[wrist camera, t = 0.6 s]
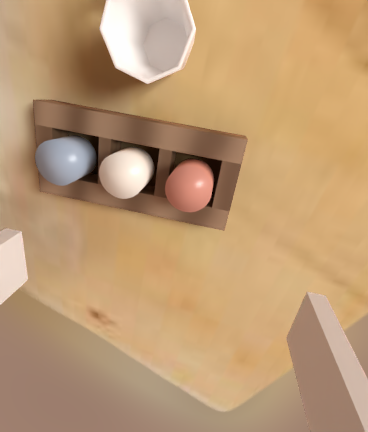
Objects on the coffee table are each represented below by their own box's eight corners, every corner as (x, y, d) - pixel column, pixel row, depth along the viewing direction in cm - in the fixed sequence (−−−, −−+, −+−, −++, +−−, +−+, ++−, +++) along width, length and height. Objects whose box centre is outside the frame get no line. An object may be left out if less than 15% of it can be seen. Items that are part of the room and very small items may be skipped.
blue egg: (59, 171, 30) (36, 180, 26) (58, 131, 28) (33, 136, 25) (96, 178, 30) (78, 189, 26) (97, 139, 28) (77, 145, 24)
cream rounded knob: (114, 182, 30) (98, 193, 26) (116, 142, 28) (99, 149, 24) (152, 190, 29) (141, 202, 26) (156, 150, 27) (145, 158, 24)
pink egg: (170, 194, 29) (162, 207, 26) (176, 154, 27) (168, 162, 24) (209, 202, 29) (206, 216, 25) (217, 162, 27) (216, 172, 23)
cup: (168, 103, 28) (147, 104, 21) (98, 23, 26) (47, -8, 19) (220, 49, 25) (216, 28, 18) (146, -46, 23) (109, -113, 16)
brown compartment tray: (55, 184, 34) (39, 191, 31) (51, 99, 30) (33, 99, 27) (224, 219, 32) (224, 230, 29) (245, 135, 28) (247, 139, 25)
